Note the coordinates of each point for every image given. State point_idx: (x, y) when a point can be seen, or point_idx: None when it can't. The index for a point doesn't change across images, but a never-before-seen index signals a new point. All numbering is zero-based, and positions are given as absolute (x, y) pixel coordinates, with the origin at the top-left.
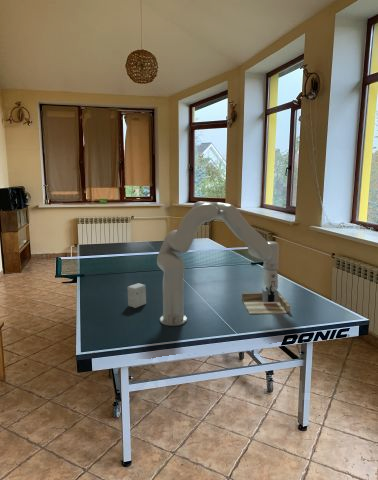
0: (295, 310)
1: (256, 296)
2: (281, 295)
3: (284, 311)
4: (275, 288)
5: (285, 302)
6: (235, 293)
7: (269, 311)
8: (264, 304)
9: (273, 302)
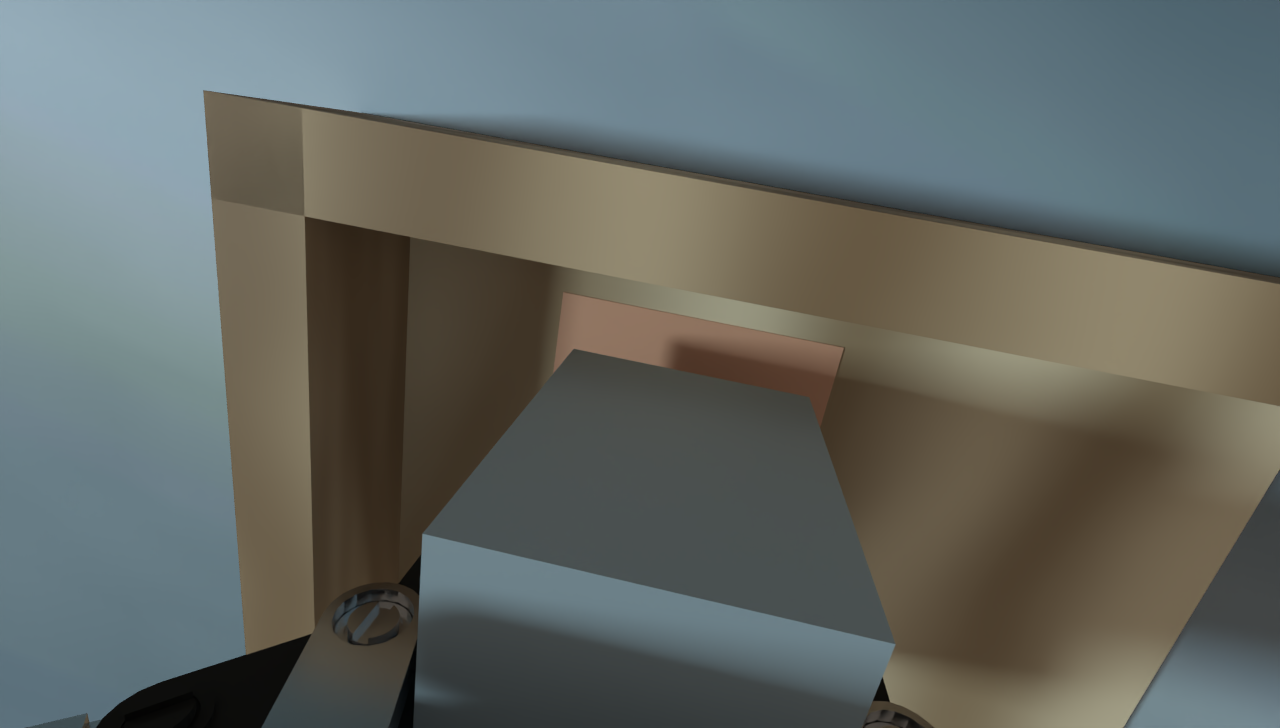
0: (1252, 27)
1: None
2: (533, 158)
3: (1258, 407)
4: (475, 571)
5: (1258, 364)
6: (59, 719)
7: (1076, 682)
8: None
9: None
